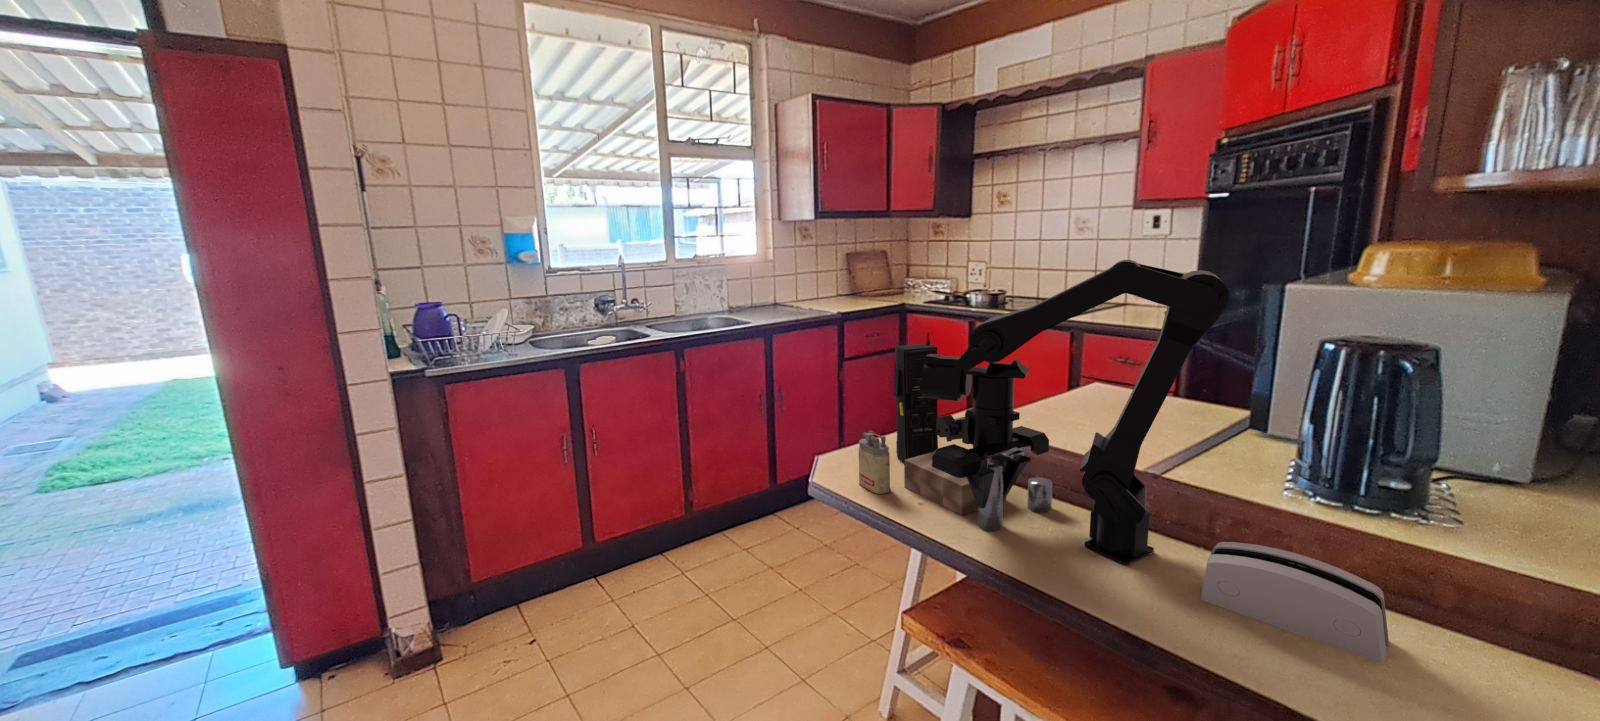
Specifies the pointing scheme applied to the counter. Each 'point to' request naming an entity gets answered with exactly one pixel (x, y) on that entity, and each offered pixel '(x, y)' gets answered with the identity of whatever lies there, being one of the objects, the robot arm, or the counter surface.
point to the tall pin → (993, 500)
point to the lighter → (874, 463)
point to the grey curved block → (1298, 596)
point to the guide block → (938, 485)
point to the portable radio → (914, 403)
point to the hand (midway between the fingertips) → (990, 504)
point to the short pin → (1039, 495)
